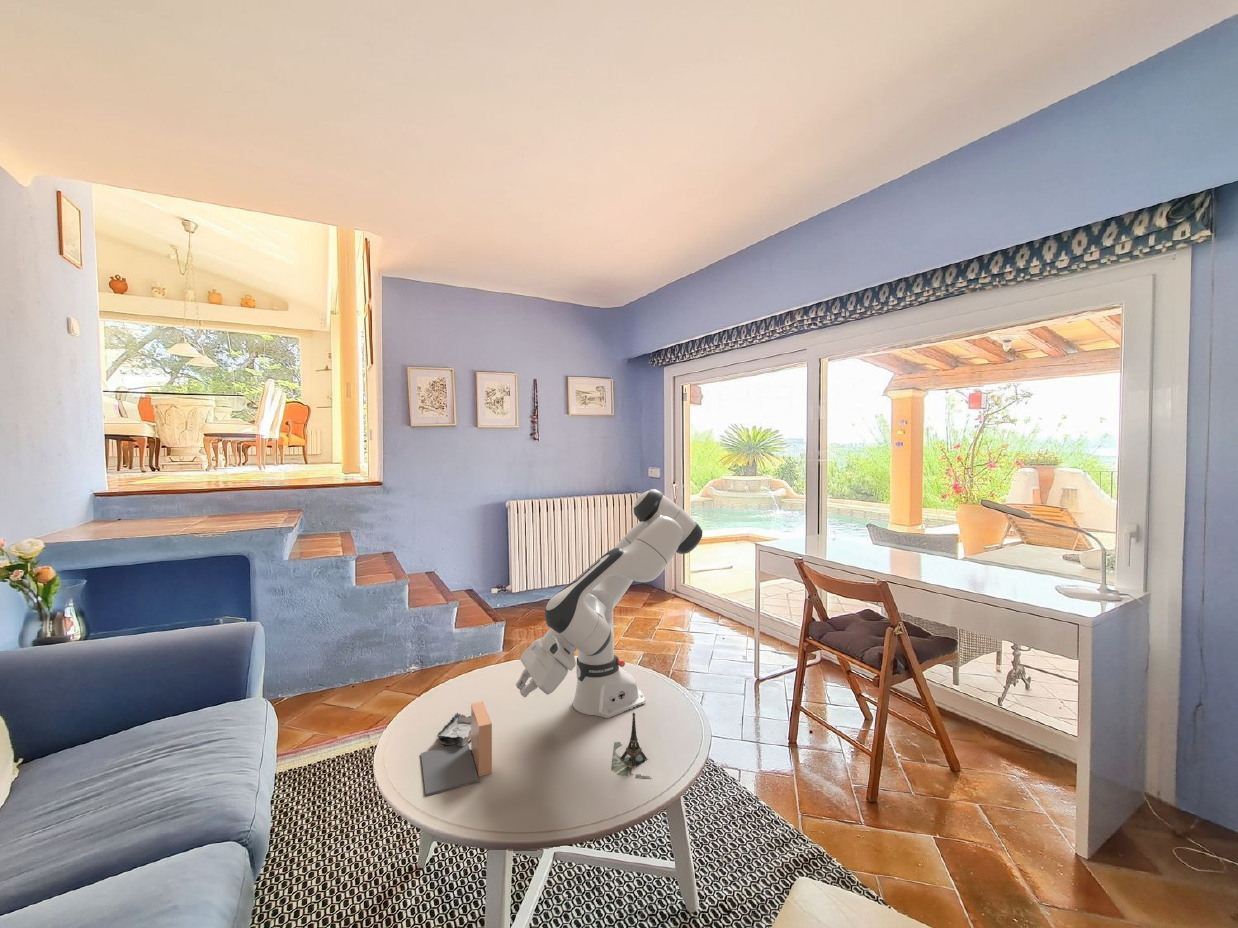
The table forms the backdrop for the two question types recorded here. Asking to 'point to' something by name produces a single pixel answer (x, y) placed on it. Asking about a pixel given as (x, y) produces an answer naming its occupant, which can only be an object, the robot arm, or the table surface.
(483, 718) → the orange block
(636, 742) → the eiffel tower figurine
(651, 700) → the table surface
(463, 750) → the mat
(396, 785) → the table surface
